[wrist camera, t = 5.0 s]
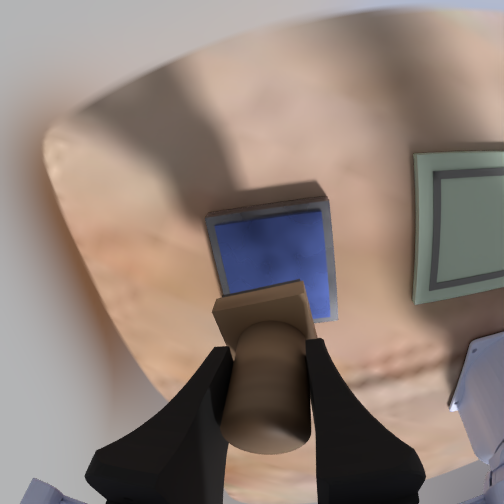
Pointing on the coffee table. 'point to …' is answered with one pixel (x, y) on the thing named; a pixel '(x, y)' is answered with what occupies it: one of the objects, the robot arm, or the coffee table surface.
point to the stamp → (267, 367)
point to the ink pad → (278, 250)
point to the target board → (458, 224)
